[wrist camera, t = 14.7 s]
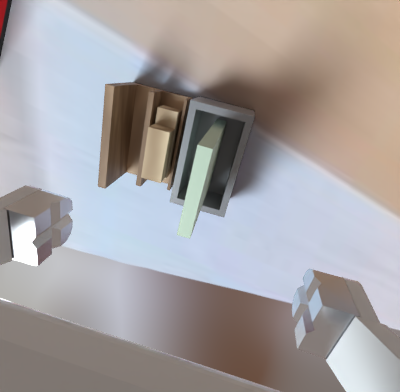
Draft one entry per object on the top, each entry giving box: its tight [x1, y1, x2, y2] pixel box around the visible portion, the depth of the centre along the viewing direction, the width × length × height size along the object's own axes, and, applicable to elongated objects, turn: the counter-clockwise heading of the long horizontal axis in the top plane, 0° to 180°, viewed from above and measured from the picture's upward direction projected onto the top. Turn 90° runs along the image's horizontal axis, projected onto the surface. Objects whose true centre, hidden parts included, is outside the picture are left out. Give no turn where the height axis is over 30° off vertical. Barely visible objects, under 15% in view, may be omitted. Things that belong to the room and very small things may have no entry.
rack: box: [98, 82, 192, 190], centre depth 43 cm, size 10×15×10 cm, turn 167°
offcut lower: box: [155, 105, 183, 179], centre depth 45 cm, size 3×11×3 cm, turn 167°
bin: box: [170, 96, 255, 217], centre depth 44 cm, size 9×16×7 cm, turn 167°
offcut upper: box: [141, 124, 175, 183], centre depth 42 cm, size 3×8×3 cm, turn 167°
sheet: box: [177, 119, 227, 239], centre depth 38 cm, size 2×11×18 cm, turn 167°
